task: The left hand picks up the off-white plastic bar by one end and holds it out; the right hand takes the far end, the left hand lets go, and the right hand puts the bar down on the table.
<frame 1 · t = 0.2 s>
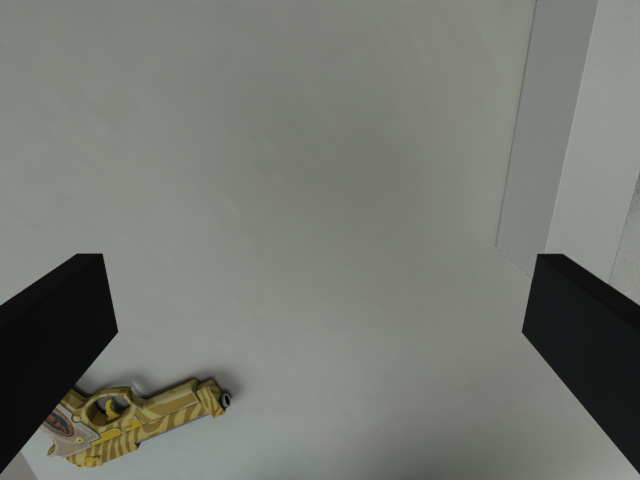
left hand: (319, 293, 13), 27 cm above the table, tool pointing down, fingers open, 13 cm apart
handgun: (119, 389, 48), on the table
bar: (549, 113, 37), on the table
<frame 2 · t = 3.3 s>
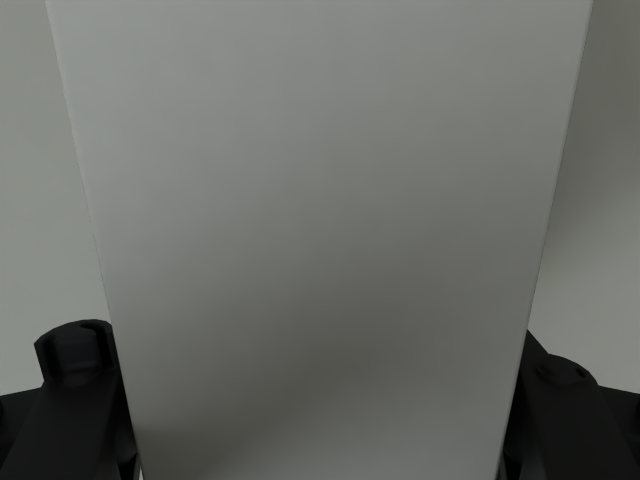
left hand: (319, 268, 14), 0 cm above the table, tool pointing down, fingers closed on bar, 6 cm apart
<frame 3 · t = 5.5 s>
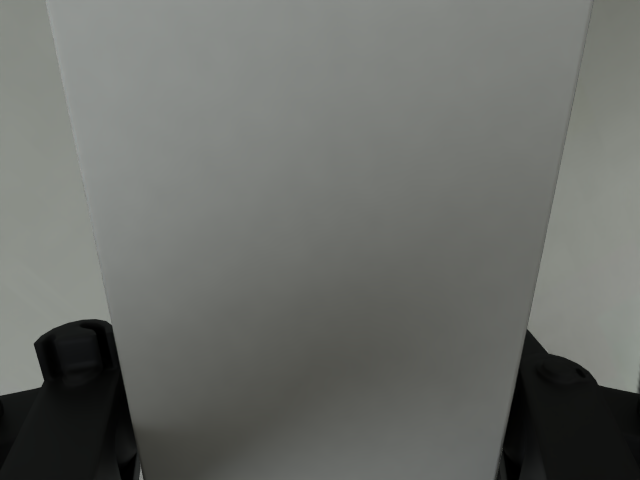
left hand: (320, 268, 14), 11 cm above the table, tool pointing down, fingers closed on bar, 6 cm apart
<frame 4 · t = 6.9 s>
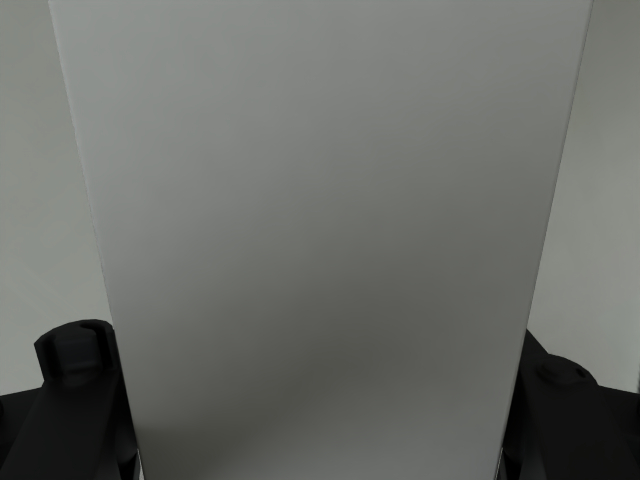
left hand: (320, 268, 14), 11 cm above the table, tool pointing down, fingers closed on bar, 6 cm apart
when the left hand's fingers open (11 cm above the table, at t = 7.9 s): bar stays where it is, held by the right hand.
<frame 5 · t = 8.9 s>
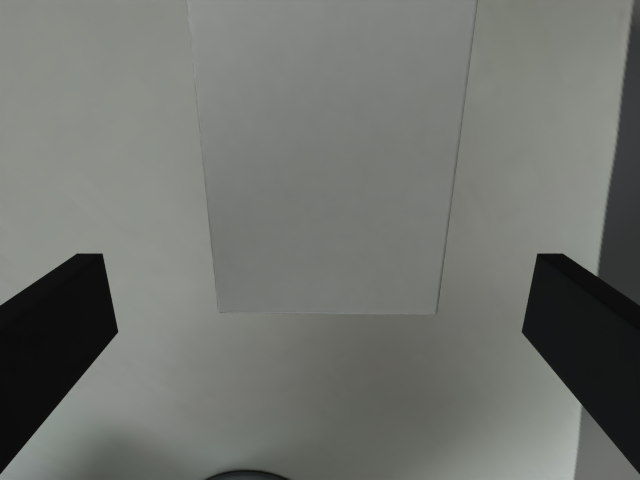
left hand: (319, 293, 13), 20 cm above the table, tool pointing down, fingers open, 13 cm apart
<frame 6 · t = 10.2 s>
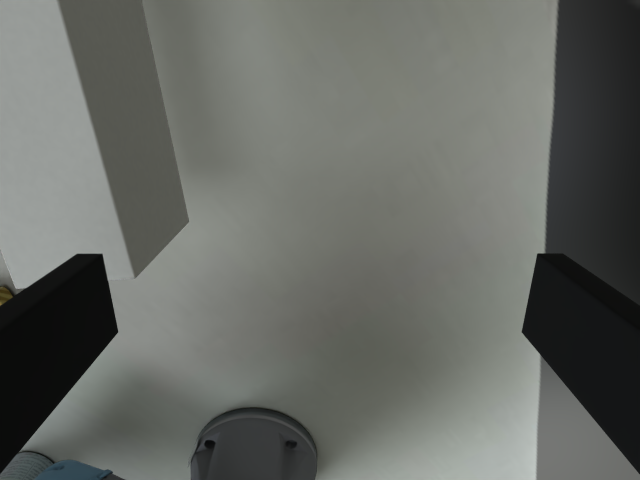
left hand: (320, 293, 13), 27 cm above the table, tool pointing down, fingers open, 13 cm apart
bar: (91, 5, 23), point 13 cm above the table, touching right hand
spray paint can: (33, 468, 52), on the table
when the right hand's fingers open (6 cm above the table, at t = 13.8 s): bar drops 1 cm, on the table.
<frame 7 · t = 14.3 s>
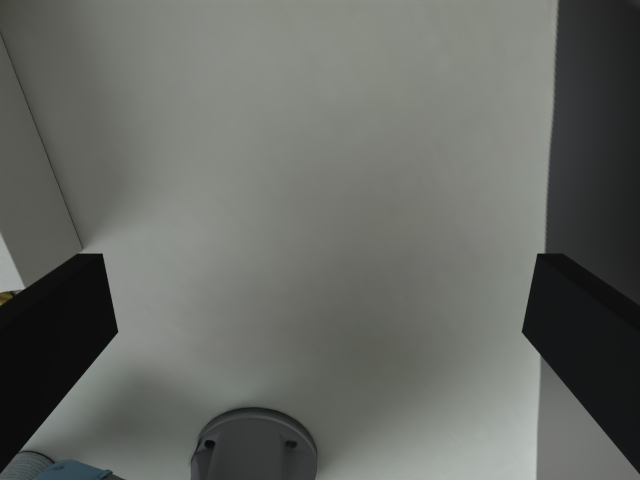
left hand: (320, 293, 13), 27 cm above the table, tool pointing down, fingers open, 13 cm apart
bar: (3, 123, 37), on the table
spray paint can: (33, 468, 52), on the table
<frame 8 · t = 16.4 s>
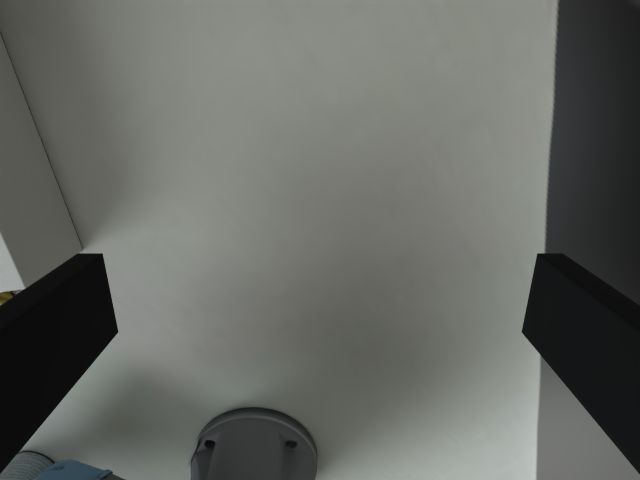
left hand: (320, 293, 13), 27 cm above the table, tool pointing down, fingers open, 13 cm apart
bar: (3, 123, 37), on the table
spray paint can: (33, 468, 52), on the table
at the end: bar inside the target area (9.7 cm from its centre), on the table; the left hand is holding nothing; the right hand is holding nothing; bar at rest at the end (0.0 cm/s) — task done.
